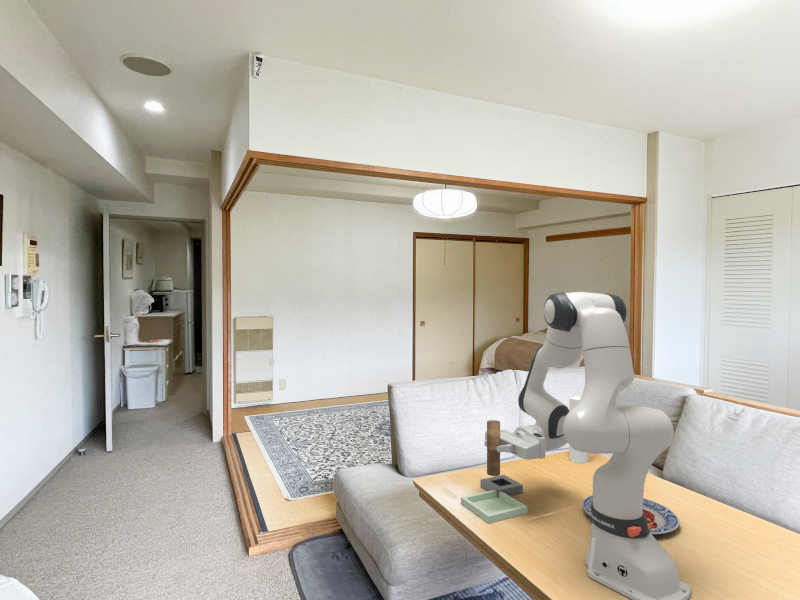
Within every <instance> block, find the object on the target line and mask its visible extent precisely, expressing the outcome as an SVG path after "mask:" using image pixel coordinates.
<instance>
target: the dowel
mask: <svg viewBox="0 0 800 600" xmlns="http://www.w3.org/2000/svg"><path fill="white" fill-rule="evenodd" d="M500 429H501V421H500V420H497V419H495V420H493V419H489V420H487V421H486V431H487V447H486V474H487V475H488V476H491V477H495V476H500V475H501V452H500V453H499V452H497V451H495V446H496V445H500Z"/></svg>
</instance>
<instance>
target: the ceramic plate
mask: <svg viewBox="0 0 800 600" xmlns="http://www.w3.org/2000/svg"><path fill="white" fill-rule="evenodd" d="M592 503H593V494H592V495H590V496H588V497H587V498H585V499H584V500H583V501H582V508H583V511H584V513H586V514H587V515H588V516H589V517H590V518H591V504H592ZM643 512H644V514H645V517H646V519H647V522H648V523H651V522H654V524H653V525H651V526H654V527H652V528H650V533H651V534H652V535H663V534H667V533H671V532H673V531H676V530H677V529H678V528H679V526H680V519H679V517H678V516H677V514H676V513H675V512H674V511H673V510H671V509H669V508H668V507H666V506H665V505H663V504H660V503H658V502H656V501H653V500H650V499H647V498H644V497H643Z"/></svg>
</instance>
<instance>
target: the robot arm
mask: <svg viewBox="0 0 800 600" xmlns="http://www.w3.org/2000/svg"><path fill="white" fill-rule="evenodd" d="M627 310H628V309H627V306H626V304H625V301H624V300H623V299H622V298H621V297H620V296H619V295H616V294H612V293H599V292H597V293H596V292H586V291H574V292H571V291H570V292H563V291H562V292H556V293H552V294H550V295H548V297H547V298H546V300H545V302H544V306H543V317H544V321H545V323H546V324H547V331H546V335H545V339H544V343H543V344H542V345H541V346H540V347H538V348H537V349H536V350H535V353H534V355H533V358H532V361H531V363H530V367H529V370H528V373H527V376H526V379H525V383H524V385H523V387H522V389H521V391H520V393H519V395H518V401H517V402H518V407H519V409H520V411H522V412H524V413H525V414H527V415H528V416H530V417H531V418H532V419H534V420H535V424H530V425H524V426H518V427H516V428H515V429H514V430H513V432H512V431H509V430H507V429H504V428H500V445H496V446H495V451H497V452H499V453H500V454H501V453H510V454H512V455H513V456H517V457H518V458H520V459H523V460H529V461H530V460H535V459H540V460H541V459H545V458H546V452H550V451H554V450H557V449H561V448H563V447H565V446H566V445H567V444H568V445H569V447H570V446H571V447H572V448H573V449H574V450H577V451H582V452H587V453H589V454H593V455H597V454H601V455H602V454H603V455H604V454H605V455H606V454H612V455H611V457H610V458H609V459H608V461H606V462H605V463H604V464H602V465H600V466H599V467H598V468H597V469H596V470H595V471H594V473H593V476H592V495H593V503H592V504H591V517H590V522H591V532H590V533H591V534H590V541H589V546H588V549H587V550H588V551H587V552H586V553H587V554H586V557H585V560H584V561H585V563H586V566H587V570H586V571H587V572H586V575H587V577H588V578H590V579H592V580H594V581H596V582H597V583H599V584H602V585H603V586H606V587H607V588H609V589H611V590H613V591H615V592H617V593H619V594H621V595H623V596H624V597H627V598H628V599H631V600H689V599H690V597H691V593H692V592H691V587H690V586H689V585H688V584H687V583H686V582H684V581H682V580H681V579H680V578H679V571H678V567H677V564H676V562H675V560H674V558H672V556H671V555H670V554H669V553H668V552H667V551H666V549H665V548H664V547H663V546H662V545H661V543H660V542H659V541H658V540H657V539H656V537H655V536H654V534H651V533H650V528H652V527H654V526H651V525H653V524H654V522H651V523H648V522H647V519H646V517H645V514H644V512H643V498H644V493H645V490H644V489H645V484H646V483H645V482H646V477H647V475H648V472H649V470H650V468H651V466H652V465H653V463H654V462H655V460H656V458H658V456H659V455H660V454H661V453H663V452H664V451H665V450H667V449H669V448H670V446H671V445H672V442H673V441H674V440H673V439H674V436H675V430H674V426H673V423H672V420H671V419H670V417H669V416H668V415H667V414H666V413H665V412H664V411H663V410H661V409H658V408H653V407H649V406H648V407H647V406H641V405H639V406H637V405H635V406H633V405H628V406H624V405H623V406H618V405H617V398H618V395H619V393H621V392H622V391H624V390H626V389H627V388H628V387H630V386H631V384H632V383H633V381H634V379H635V373H634V366H633V361H632V360H633V358H632V354H631V353H632V352H631V347H630V341H629V337H628V333H627V329H626V326H625V321H626V320H627V315H628V314H627ZM582 356H583V364H584V365H583V366H584V378H585V379H584V381H585V382H584V389H583V392H582V394H581V396H580V397H581V399H580V400H579V402H578V403H577V405H576V406H575V407H574V408H573V409H572V410H571V411H570V408H569V407H568V406H567V405H566V404H564V403H563V402H561V401H560V400H559V399H557V398H556V397H554V396H553V395H551V394H550V393H548V392H547V390H546V389H545V386H544V384H545V381H546V377H547V375H548V371H549V369H550V368H554V369H555V368H556V369H564V368H570V367H572V366H575V364H577V363H578V362H579V361H580V359H581V357H582ZM484 447H486V448H487V430H486V431H485V433H484Z"/></svg>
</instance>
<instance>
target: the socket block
mask: <svg viewBox="0 0 800 600" xmlns="http://www.w3.org/2000/svg"><path fill="white" fill-rule="evenodd" d="M479 481H480V488H481V489H482V490H485V492H486V491H490V490H496V491H497V492H501V491H502V492H504V493H505V494H507V495H509V496H510V497H512V496H514V495H519V494H523V493H524V485H523V484H522V483H520V482H518V481H516V480H514V479H513V478H511V477H509V476H507V475H505V474H500V475H499V476H491V477H486V478H481V479H480V480H479ZM498 495H499V493H497V496H498ZM498 497H499V496H498Z"/></svg>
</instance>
